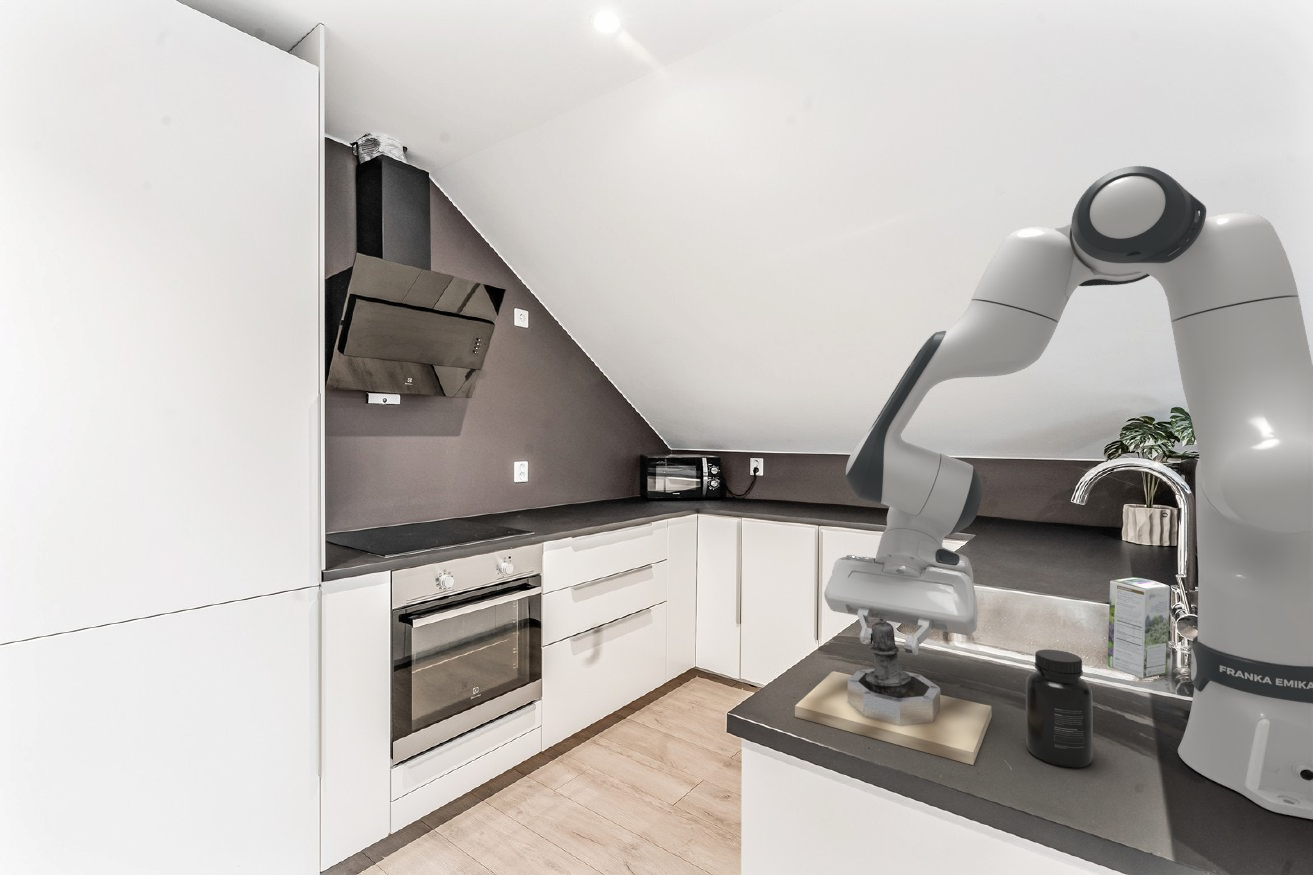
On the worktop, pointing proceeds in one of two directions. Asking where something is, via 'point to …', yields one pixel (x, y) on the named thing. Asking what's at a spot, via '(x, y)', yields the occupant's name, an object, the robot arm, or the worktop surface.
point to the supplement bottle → (1059, 710)
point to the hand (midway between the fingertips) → (887, 646)
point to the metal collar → (895, 701)
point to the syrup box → (1138, 627)
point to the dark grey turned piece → (886, 663)
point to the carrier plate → (946, 737)
